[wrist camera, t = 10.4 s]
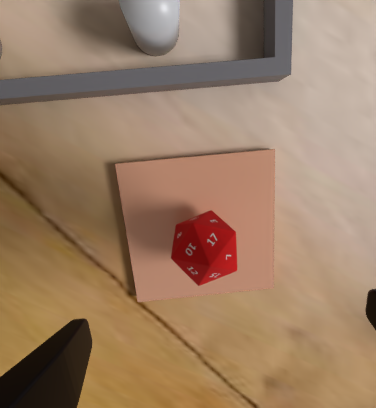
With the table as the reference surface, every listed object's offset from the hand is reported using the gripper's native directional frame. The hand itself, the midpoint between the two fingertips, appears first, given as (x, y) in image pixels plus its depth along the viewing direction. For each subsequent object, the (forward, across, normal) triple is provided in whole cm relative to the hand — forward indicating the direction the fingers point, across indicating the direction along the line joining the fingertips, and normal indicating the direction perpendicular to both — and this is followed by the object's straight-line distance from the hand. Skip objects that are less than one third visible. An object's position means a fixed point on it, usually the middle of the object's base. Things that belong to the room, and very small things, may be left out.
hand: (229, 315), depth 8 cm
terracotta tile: (+8, 0, 0) cm, 8 cm away
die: (+8, 0, 0) cm, 8 cm away
